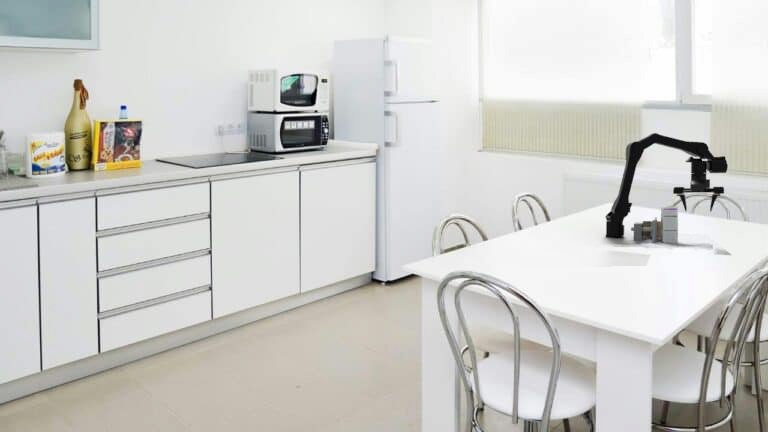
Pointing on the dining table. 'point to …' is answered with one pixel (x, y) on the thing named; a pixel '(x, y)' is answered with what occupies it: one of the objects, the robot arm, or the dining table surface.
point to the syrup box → (669, 224)
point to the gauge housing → (640, 234)
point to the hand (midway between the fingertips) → (698, 211)
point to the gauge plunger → (650, 229)
